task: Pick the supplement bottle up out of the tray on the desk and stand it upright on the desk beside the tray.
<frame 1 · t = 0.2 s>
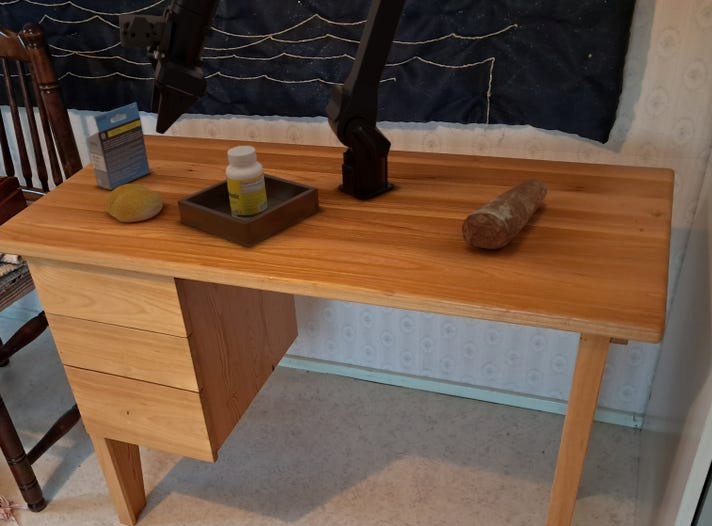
hand: (156, 122, 104), 14 cm above the table, tool tilted 30°, fingers open, 9 cm apart
tray: (250, 216, 110), on the table
supplement bottle: (250, 216, 110), resting on tray
salami: (505, 227, 100), on the table
label tape box: (125, 181, 127), on the table
bread roll: (135, 213, 115), on the table
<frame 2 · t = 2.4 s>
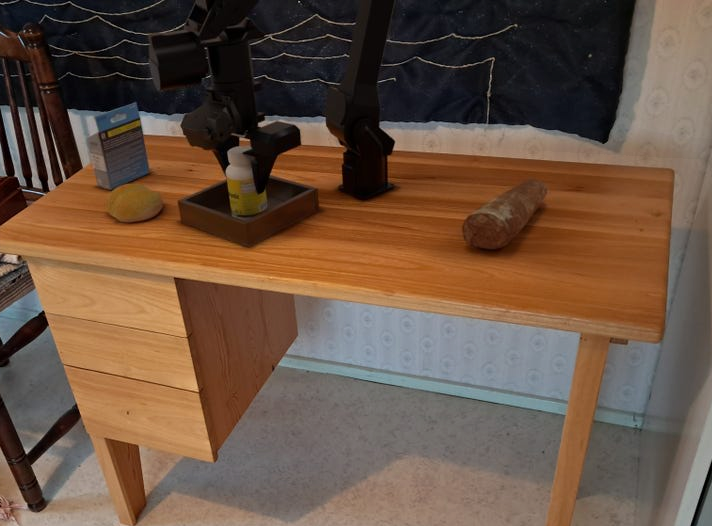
hand: (246, 188, 107), 4 cm above the table, tool pointing down, fingers closed on supplement bottle, 5 cm apart
supplement bottle: (250, 216, 110), resting on tray, touching gripper
everything else where it was.
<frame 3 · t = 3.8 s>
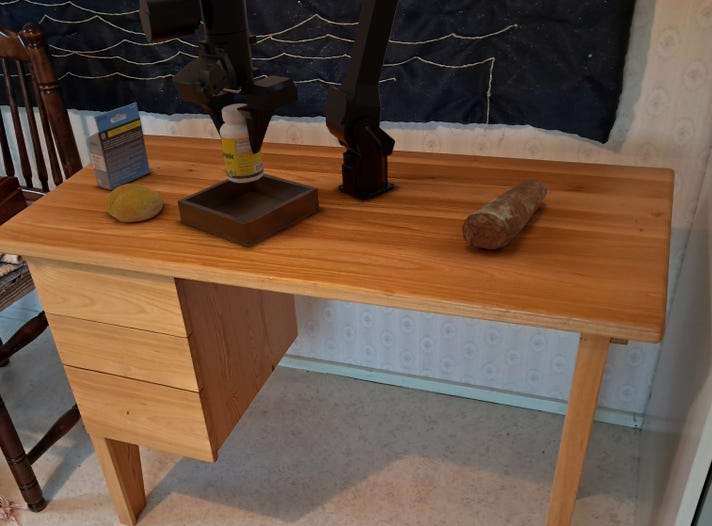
hand: (241, 149, 104), 10 cm above the table, tool pointing down, fingers closed on supplement bottle, 5 cm apart
supplement bottle: (245, 178, 106), point 6 cm above the table, touching gripper
everything else where it was.
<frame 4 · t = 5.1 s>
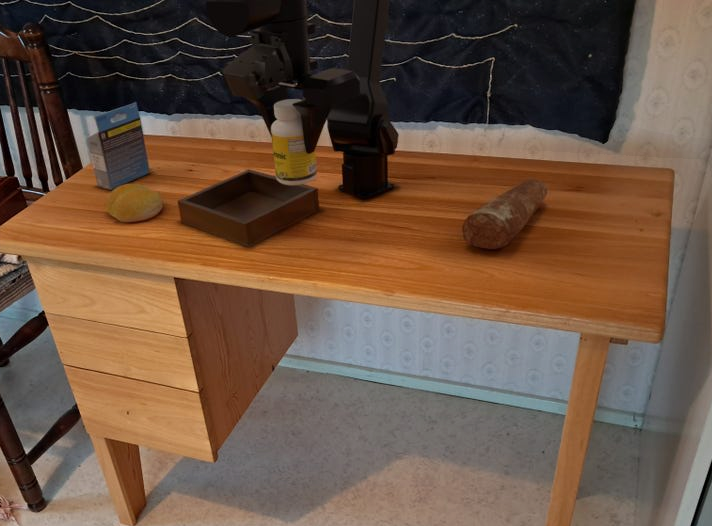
hand: (294, 148, 95), 13 cm above the table, tool pointing down, fingers closed on supplement bottle, 5 cm apart
supplement bottle: (296, 180, 98), point 8 cm above the table, touching gripper
everything else where it was.
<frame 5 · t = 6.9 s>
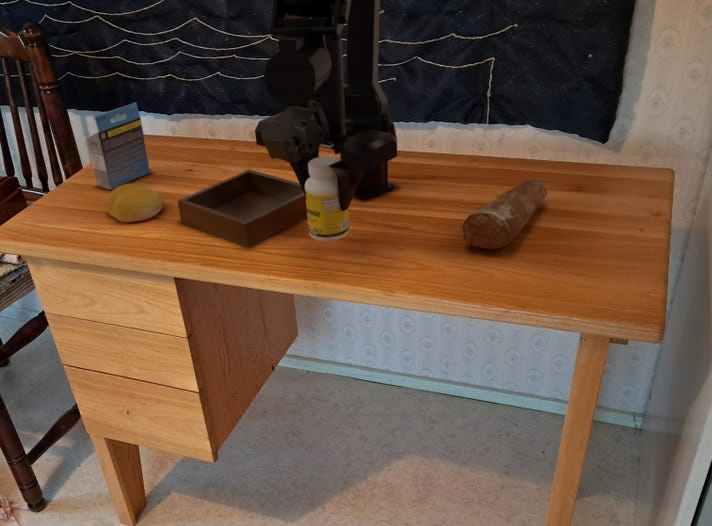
hand: (327, 204, 95), 6 cm above the table, tool pointing down, fingers closed on supplement bottle, 5 cm apart
supplement bottle: (329, 234, 98), point 2 cm above the table, touching gripper
everything else where it was.
when the fingers open (4 cm above the table, at t = 8.0 s): supplement bottle stays where it is, on the table.
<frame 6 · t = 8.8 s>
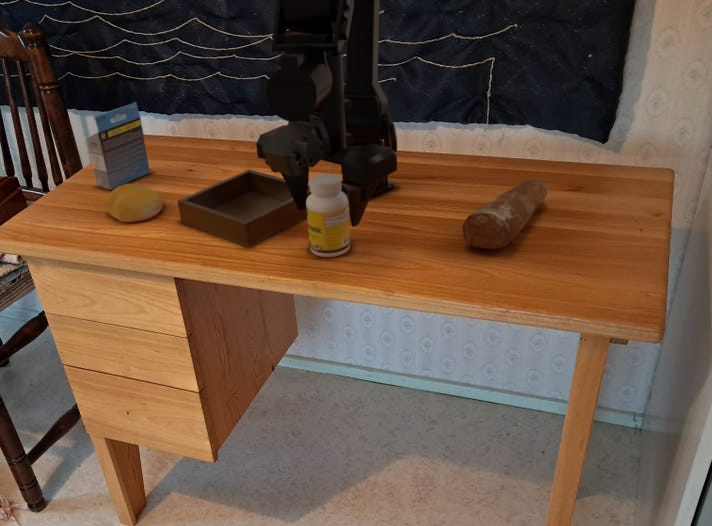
hand: (327, 217, 96), 5 cm above the table, tool pointing down, fingers open, 9 cm apart
supplement bottle: (330, 250, 99), on the table
everything else where it was.
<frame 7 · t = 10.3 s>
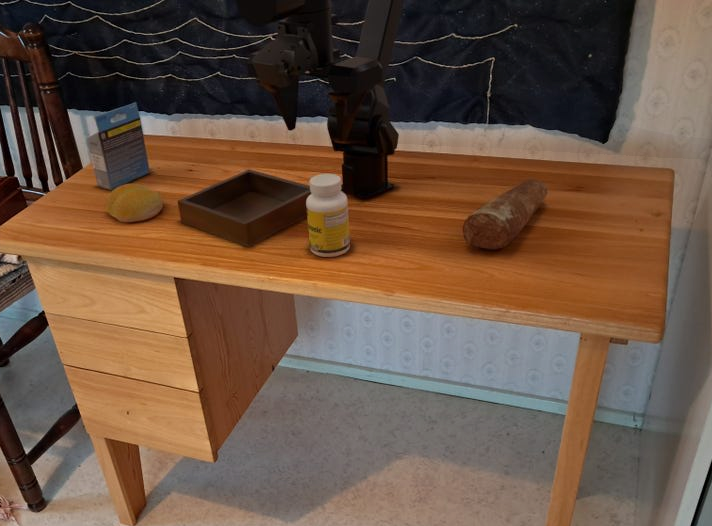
hand: (316, 135, 99), 12 cm above the table, tool pointing down, fingers open, 9 cm apart
nothing on the table moved.
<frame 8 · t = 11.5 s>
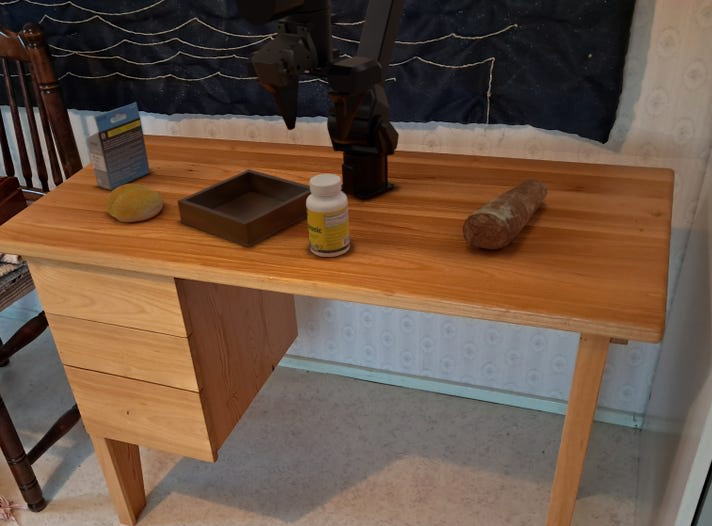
hand: (316, 134, 99), 13 cm above the table, tool pointing down, fingers open, 9 cm apart
nothing on the table moved.
at the end: supplement bottle inside the target area (0.0 cm from its centre), on the table; supplement bottle tilted 0°; the gripper is holding nothing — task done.
